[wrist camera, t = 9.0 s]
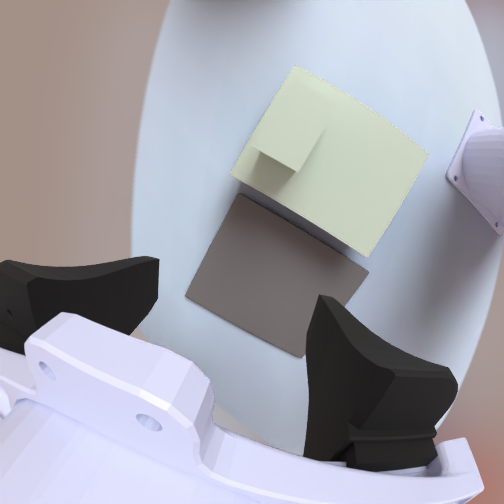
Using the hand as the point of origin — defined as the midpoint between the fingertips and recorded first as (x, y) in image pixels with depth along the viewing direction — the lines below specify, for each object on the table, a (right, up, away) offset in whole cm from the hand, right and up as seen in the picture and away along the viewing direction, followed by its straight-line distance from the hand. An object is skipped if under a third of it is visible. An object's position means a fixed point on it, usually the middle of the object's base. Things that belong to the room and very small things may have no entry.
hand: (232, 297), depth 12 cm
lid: (+6, +8, +4) cm, 11 cm away
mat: (+3, -1, +11) cm, 11 cm away
